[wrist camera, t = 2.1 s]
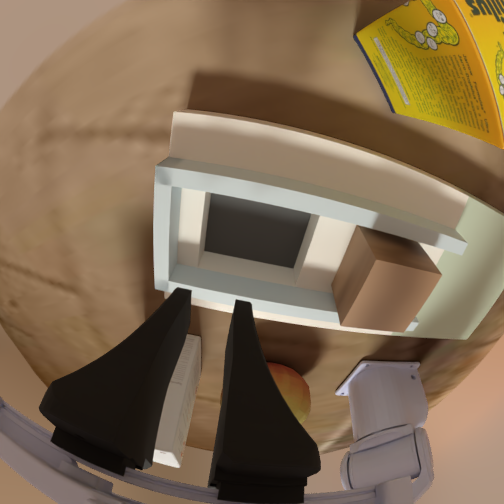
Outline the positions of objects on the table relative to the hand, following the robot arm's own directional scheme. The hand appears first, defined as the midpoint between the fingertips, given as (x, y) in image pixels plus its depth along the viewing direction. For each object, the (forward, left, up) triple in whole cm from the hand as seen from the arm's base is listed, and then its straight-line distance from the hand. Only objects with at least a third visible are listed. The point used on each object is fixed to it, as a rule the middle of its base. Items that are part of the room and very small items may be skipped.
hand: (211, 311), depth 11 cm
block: (-10, 0, -7) cm, 12 cm away
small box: (+4, +18, -10) cm, 21 cm away
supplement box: (-9, -14, -10) cm, 19 cm away
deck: (-12, 0, -9) cm, 15 cm away
